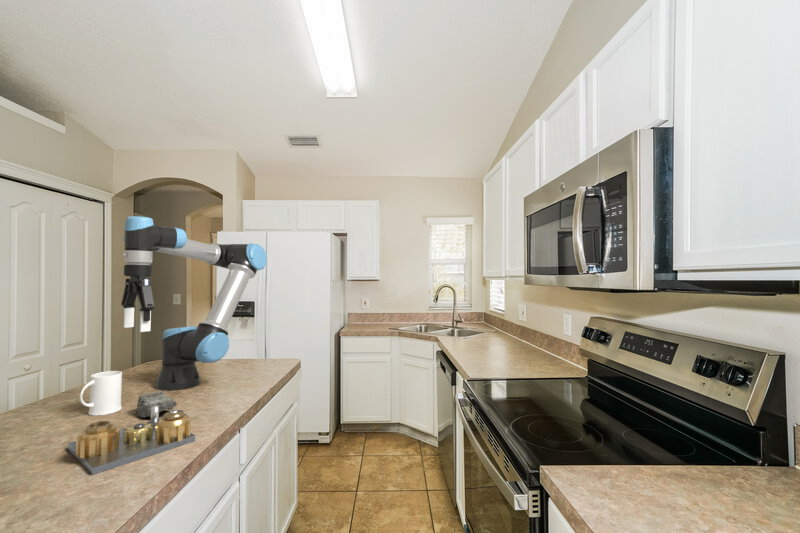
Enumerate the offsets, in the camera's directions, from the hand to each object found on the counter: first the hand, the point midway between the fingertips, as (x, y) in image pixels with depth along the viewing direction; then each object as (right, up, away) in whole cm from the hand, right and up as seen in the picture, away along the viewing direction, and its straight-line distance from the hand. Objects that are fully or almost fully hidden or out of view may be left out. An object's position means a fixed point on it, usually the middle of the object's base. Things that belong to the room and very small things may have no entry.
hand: (136, 329), depth 122 cm
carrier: (+16, -26, -25) cm, 39 cm away
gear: (+12, -24, -30) cm, 41 cm away
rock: (+7, -27, -3) cm, 28 cm away
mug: (-10, -27, -2) cm, 29 cm away
